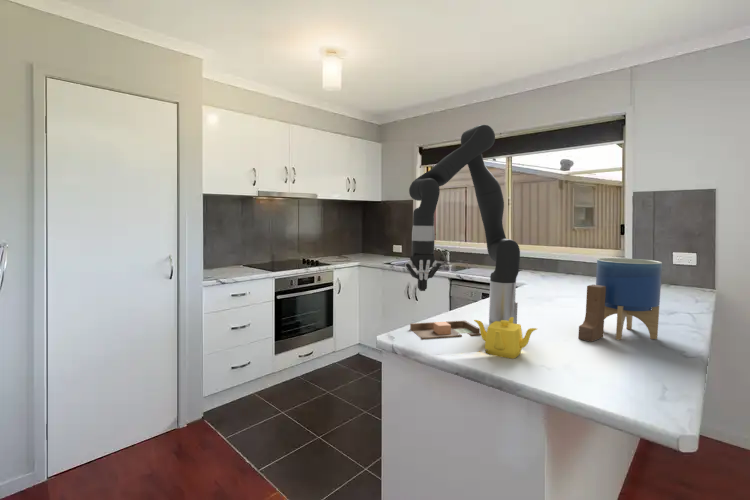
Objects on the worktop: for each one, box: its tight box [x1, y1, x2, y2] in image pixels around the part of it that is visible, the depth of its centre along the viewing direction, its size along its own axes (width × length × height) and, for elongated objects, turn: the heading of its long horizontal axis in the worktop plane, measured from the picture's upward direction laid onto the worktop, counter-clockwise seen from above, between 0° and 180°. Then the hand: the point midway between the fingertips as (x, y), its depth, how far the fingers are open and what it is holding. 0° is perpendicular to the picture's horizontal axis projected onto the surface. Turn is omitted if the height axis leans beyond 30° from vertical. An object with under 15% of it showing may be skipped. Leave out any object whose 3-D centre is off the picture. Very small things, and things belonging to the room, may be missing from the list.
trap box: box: [409, 319, 481, 340], centre depth 134 cm, size 21×12×4 cm, turn 103°
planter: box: [595, 257, 663, 341], centre depth 138 cm, size 19×19×26 cm
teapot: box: [473, 317, 538, 360], centre depth 119 cm, size 15×14×10 cm
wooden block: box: [578, 284, 606, 343], centre depth 133 cm, size 9×4×18 cm, turn 127°
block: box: [433, 321, 451, 335], centre depth 134 cm, size 4×4×3 cm
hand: (422, 290), depth 131 cm, fingers closed
